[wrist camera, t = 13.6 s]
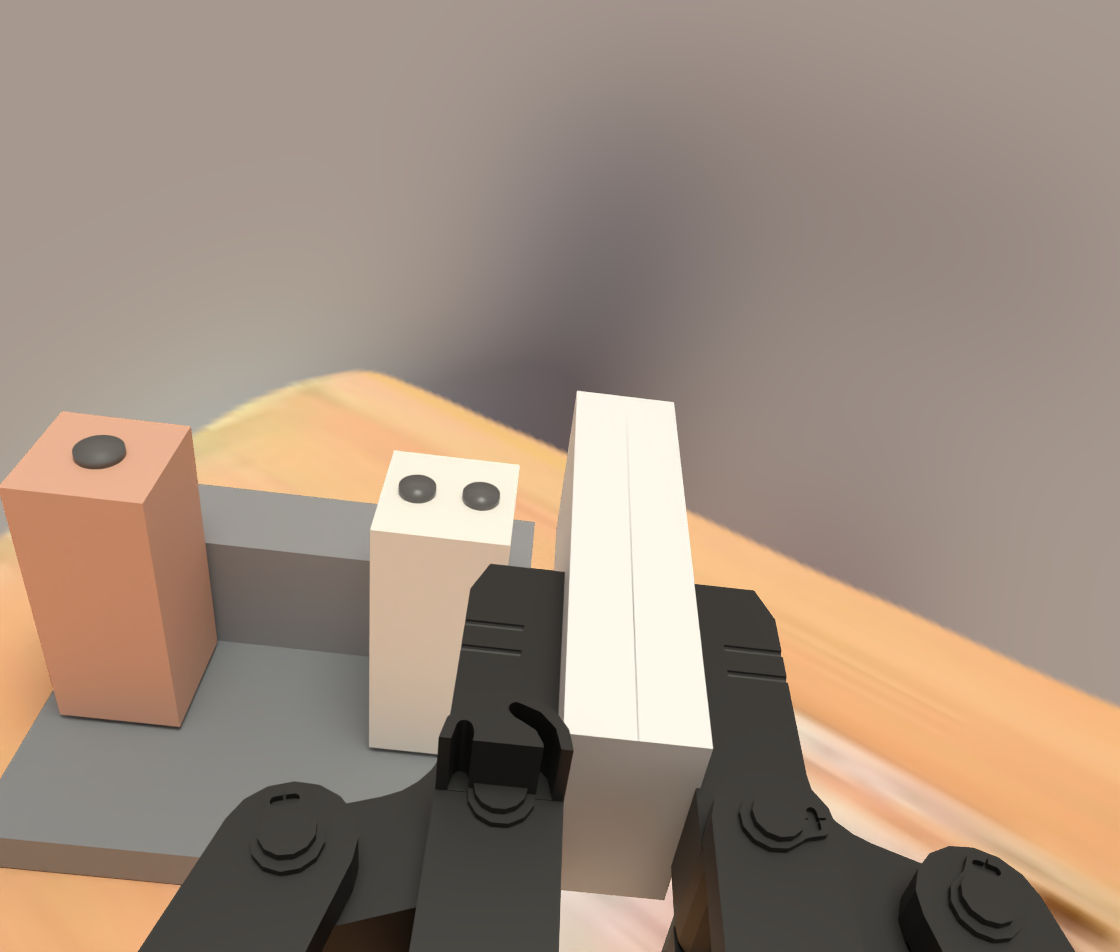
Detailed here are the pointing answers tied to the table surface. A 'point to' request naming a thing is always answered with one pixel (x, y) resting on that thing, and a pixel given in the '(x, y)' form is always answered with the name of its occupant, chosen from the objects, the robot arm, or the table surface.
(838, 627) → the table surface
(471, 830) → the robot arm
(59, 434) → the button terracotta
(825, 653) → the table surface
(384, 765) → the grey l-shaped bracket
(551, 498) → the table surface
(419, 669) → the white block with dots
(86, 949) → the table surface
